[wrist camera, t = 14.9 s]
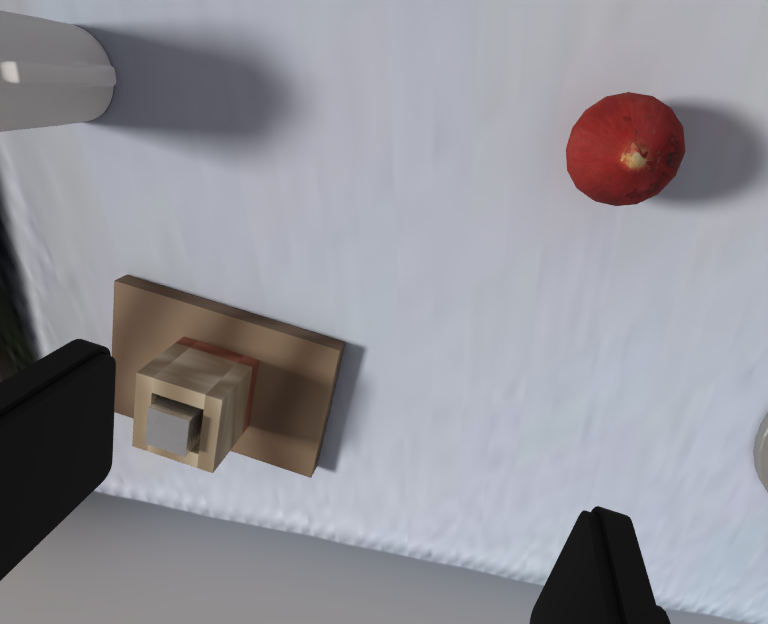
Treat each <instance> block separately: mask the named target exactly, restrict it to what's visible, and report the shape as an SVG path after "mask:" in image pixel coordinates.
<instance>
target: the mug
mask: <svg viewBox="0 0 768 624" xmlns="http://www.w3.org/2000/svg"><path fill="white" fill-rule="evenodd" d="M114 85H116V73H115V69H114V68H113V67H112V66H111V64H110V61H109V58H108V56H107V54H106V52H105V51H104V49H103V48H102V46H101V45H100V43H99V42H98V41H97V40H96V39H95V38H94V37H93V36H92V35H91V34H89V33H88V32H87V31H85V30H83V29H82V28H80V27H77V26H75V25H71V24H67V23H62V22H57V21H52V20H48V19H43V18H38V17H32V16H27V15H21V14H16V13H10V12H5V11H0V132H2V131H11V130H20V129H29V128H38V127H48V126H58V125H65V124H72V123H80V122H87V121H91V120H94V119H96V118H98V117H99V116H100V115H102V114H103V113H104V112H105V110H106V109H107V108H108V106H109V104H110V102H111V99H112V96H113V90H114Z"/></svg>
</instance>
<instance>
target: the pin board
mask: <svg viewBox="0 0 768 624" xmlns="http://www.w3.org/2000/svg"><path fill="white" fill-rule="evenodd" d="M182 337H187V338H190V339H194V340H197V341H200V342H203V343H206V344H210V345H213V346H216V347H219V348H222V349H225V350H229V351H232V352H235V353H238V354H241V355H245V356H248V357H251V358H254V359H257V360H259V364H258V371H257V377H256V383H255V390H254V396H253V402H252V409H251V415H250V422H249V427H248V428H247V429H246V430H245V432H244V433H243V434H242V436H241V437H240V438H239V440H238V441H237V442H236V444H235V445H234V446H233V447H232V449H231V450H230V451H233V452H236V453H239V454H242V455H245V456H248V457H251V458H254V459H256V460H259V461H262V462H265V463H268V464H271V465H274V466H277V467H280V468H283V469H286V470H289V471H292V472H295V473H298V474H301V475H304V476H307V477H310V478H311V477H312V475H313V473H314V471H315V469H316V467H317V463H318V459H319V455H320V450H321V446H322V442H323V437H324V433H325V428H326V424H327V420H328V415H329V411H330V407H331V402H332V398H333V394H334V389H335V385H336V381H337V376H338V372H339V367H340V363H341V359H342V354H343V350H344V346H345V342H343V341H340V340H337V339H334V338H330V337H327V336H324V335H321V334H317V333H314V332H311V331H308V330H304V329H301V328H298V327H295V326H291V325H288V324H285V323H282V322H278V321H275V320H272V319H269V318H265V317H262V316H259V315H256V314H253V313H249V312H246V311H243V310H240V309H236V308H233V307H230V306H227V305H223V304H220V303H217V302H214V301H210V300H207V299H204V298H201V297H197V296H194V295H191V294H188V293H184V292H181V291H178V290H175V289H171V288H168V287H165V286H162V285H158V284H155V283H152V282H149V281H146V280H142V279H139V278H136V277H133V276H129V275H125V276H123V277H121V278H119V279H117V280H115V281H114V309H113V338H112V357H113V358H114V359H115V361H116V378H115V404H114V412H116V413H119V414H122V415H125V416H128V417H131V418H134V406H135V387H136V372H138V371H139V370H140V369H142V368H143V367H144V366H145V365H147V364H148V363H149V362H151V361H152V360H153V359H155V358H156V357H157V356H159V355H160V354H161V353H163V352H164V351H165V350H166V349H168V348H169V347H170V346H172V345H173V344H174V343H176V342H177V341H178V340H180V339H181V338H182Z"/></svg>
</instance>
